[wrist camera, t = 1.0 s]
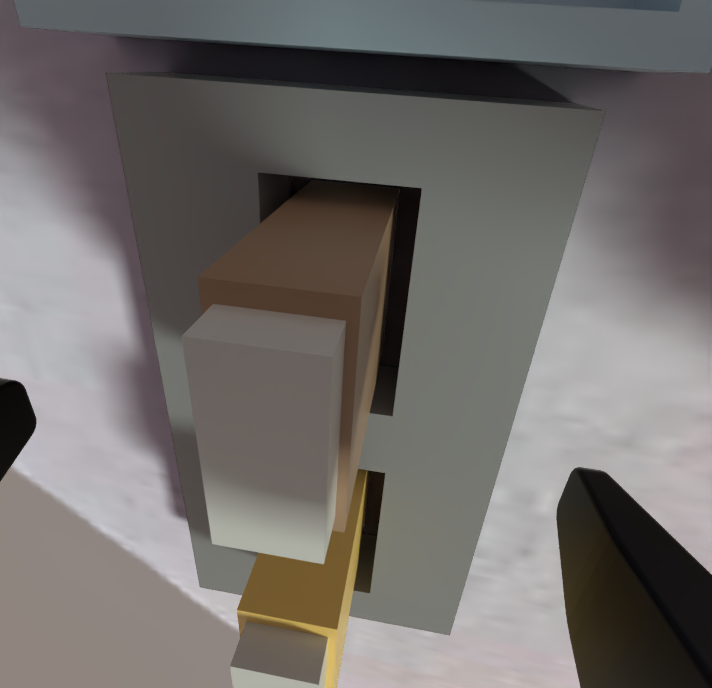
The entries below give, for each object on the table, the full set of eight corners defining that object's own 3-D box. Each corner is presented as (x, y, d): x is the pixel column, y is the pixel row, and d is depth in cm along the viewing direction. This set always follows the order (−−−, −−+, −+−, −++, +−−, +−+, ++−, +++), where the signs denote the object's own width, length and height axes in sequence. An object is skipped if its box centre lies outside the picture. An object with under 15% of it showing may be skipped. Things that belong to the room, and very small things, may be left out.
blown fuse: (399, 188, 13) (349, 331, 6) (382, 349, 15) (334, 580, 8) (311, 179, 13) (161, 306, 6) (309, 339, 15) (203, 556, 8)
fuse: (374, 430, 17) (328, 677, 10) (364, 523, 19) (322, 770, 13) (308, 420, 17) (219, 655, 10) (307, 513, 20) (235, 750, 13)
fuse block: (573, 102, 11) (605, 111, 9) (448, 575, 20) (449, 635, 18) (165, 72, 12) (105, 72, 10) (224, 534, 21) (199, 586, 19)
